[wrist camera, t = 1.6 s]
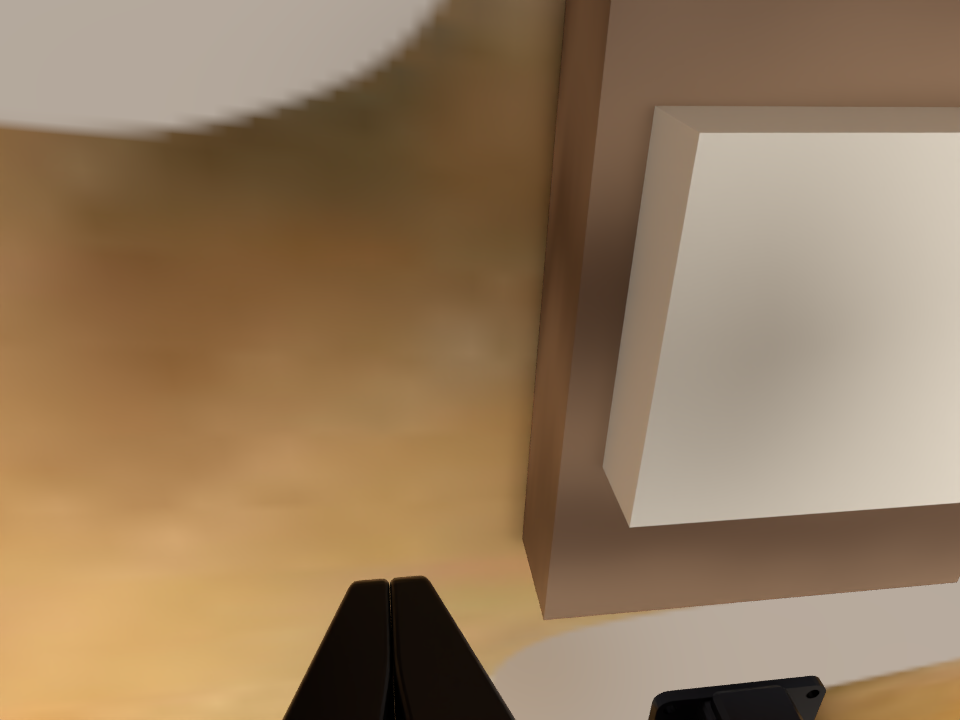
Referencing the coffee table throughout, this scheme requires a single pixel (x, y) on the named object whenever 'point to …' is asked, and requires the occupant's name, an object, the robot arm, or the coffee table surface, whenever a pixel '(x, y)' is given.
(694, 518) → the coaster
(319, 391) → the coffee table surface
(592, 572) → the walnut board
